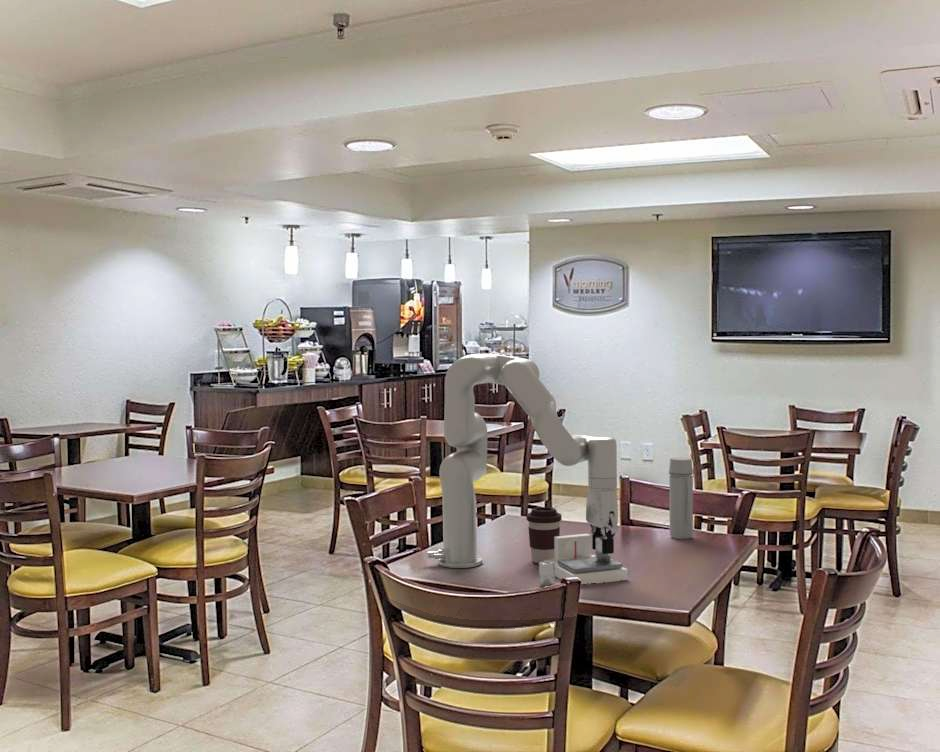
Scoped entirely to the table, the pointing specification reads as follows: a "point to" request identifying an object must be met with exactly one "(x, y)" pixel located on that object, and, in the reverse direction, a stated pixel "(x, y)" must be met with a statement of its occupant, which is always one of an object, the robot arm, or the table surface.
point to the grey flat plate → (588, 564)
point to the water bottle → (681, 497)
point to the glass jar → (600, 551)
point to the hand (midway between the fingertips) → (602, 550)
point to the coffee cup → (543, 532)
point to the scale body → (579, 549)
